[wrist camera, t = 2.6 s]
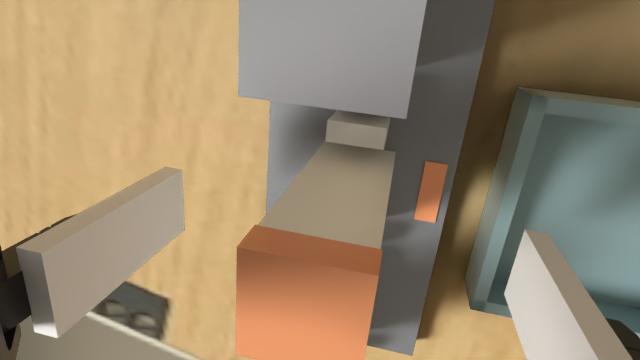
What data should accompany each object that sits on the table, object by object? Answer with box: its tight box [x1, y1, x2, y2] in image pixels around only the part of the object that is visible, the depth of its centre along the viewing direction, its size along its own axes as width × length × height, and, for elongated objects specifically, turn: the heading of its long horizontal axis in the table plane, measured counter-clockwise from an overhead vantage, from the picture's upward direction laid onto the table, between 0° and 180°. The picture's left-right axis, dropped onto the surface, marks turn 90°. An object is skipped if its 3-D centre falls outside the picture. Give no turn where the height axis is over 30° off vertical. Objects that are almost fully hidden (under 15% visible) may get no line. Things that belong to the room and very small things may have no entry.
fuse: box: [238, 0, 427, 119], centre depth 12 cm, size 4×4×10 cm
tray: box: [464, 87, 640, 338], centre depth 17 cm, size 10×9×2 cm
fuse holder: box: [266, 0, 496, 356], centre depth 19 cm, size 21×9×4 cm, turn 175°
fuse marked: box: [236, 141, 396, 360], centre depth 15 cm, size 4×4×10 cm
